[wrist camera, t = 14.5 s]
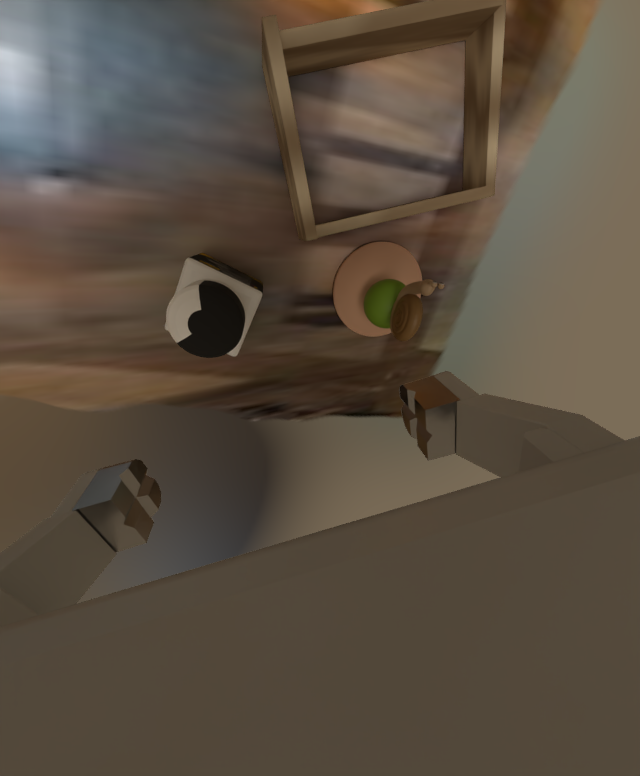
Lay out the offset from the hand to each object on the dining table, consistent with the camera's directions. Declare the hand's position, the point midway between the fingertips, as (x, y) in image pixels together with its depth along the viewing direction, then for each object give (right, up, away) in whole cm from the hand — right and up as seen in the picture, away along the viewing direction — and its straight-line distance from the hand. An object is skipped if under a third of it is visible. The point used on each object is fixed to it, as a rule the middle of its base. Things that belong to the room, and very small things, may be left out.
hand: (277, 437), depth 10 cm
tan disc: (+8, +13, +28) cm, 32 cm away
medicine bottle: (-10, +12, +26) cm, 30 cm away
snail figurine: (+9, +13, +28) cm, 32 cm away
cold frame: (+7, +26, +21) cm, 35 cm away
